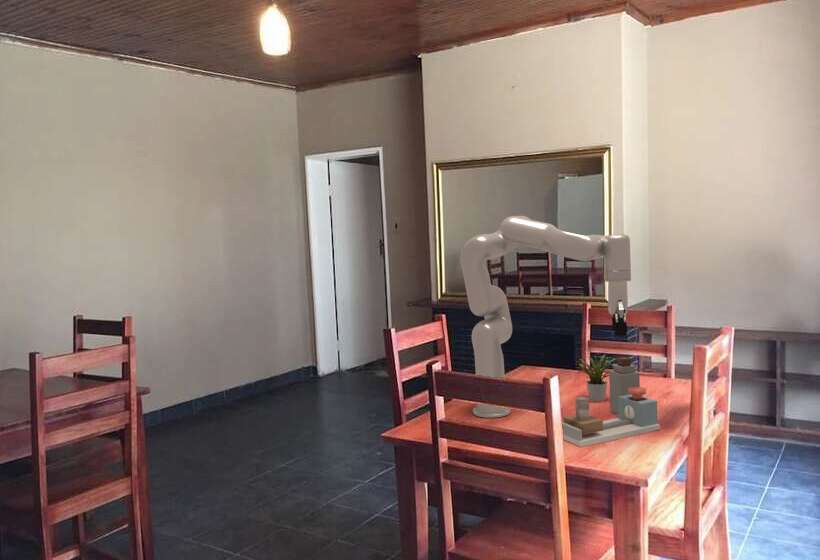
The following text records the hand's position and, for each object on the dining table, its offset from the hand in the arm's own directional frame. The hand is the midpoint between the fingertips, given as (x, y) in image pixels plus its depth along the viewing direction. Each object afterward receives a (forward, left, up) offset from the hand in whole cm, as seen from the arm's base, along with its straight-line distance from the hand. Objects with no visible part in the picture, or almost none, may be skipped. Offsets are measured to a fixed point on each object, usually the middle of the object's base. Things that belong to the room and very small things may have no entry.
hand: (619, 332), depth 204 cm
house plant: (-28, +15, -29) cm, 43 cm away
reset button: (+2, +5, -21) cm, 21 cm away
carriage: (+2, -16, -26) cm, 31 cm away
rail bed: (+2, -7, -29) cm, 30 cm away
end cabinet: (+2, +4, -28) cm, 28 cm away
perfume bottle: (-11, +11, -29) cm, 33 cm away
